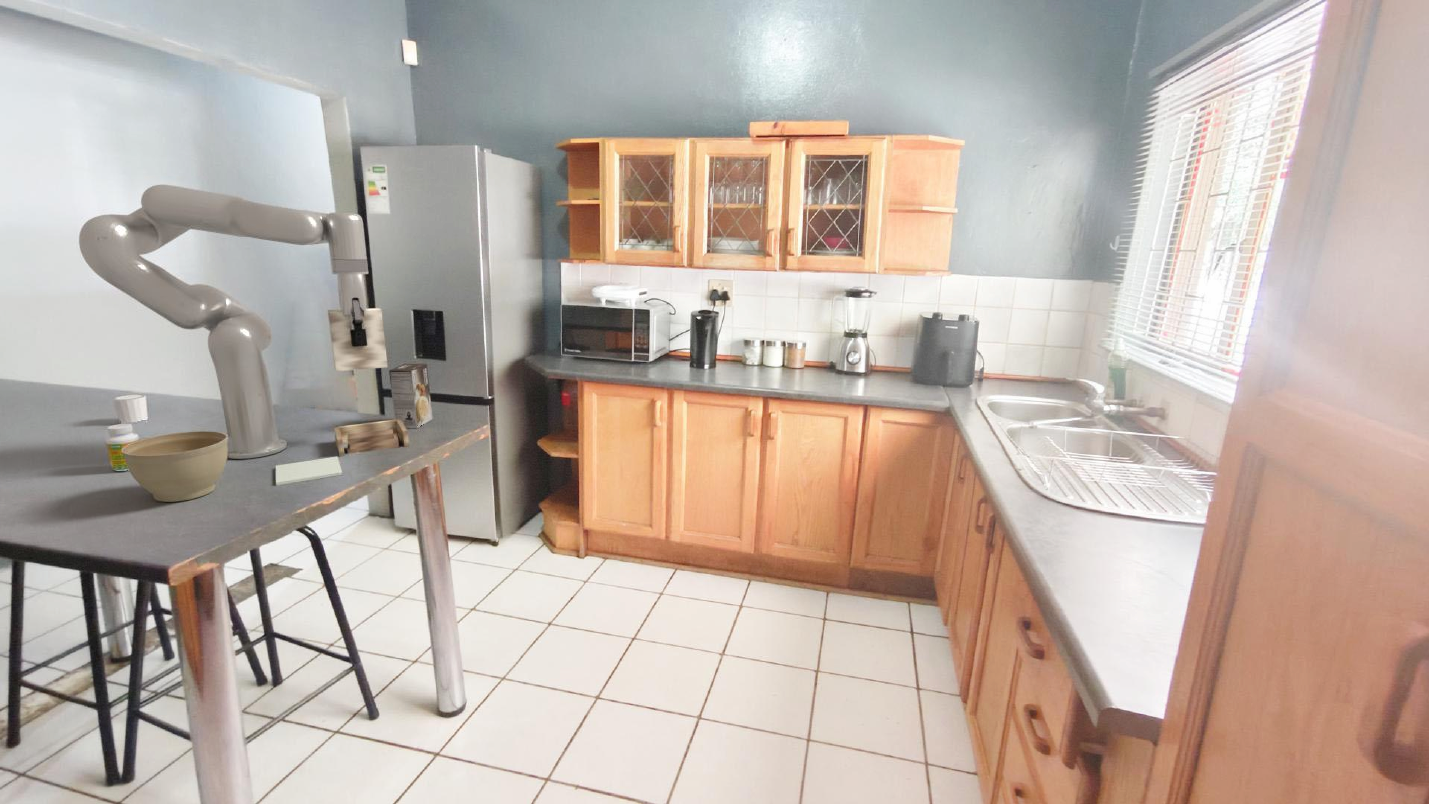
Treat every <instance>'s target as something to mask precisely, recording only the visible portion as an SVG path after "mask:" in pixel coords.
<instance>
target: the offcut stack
mask: <svg viewBox="0 0 1429 804" xmlns="http://www.w3.org/2000/svg"><path fill="white" fill-rule="evenodd" d="M346 445H347V454H348V455H350V454H351V455H352V454H357V453H356V452H359V453H365V452H366V451H367V452H373V451H372V450H375V451H379V450H378V449H383V450H388V449H389V450H390V449H396V448H397V449H398V448H400V443H399V436H398V435H397V433H396V434H393V430H392V429H389V430H381V431H372V432H363V433H355V434H348V442H347V444H346ZM376 449H377V450H376Z"/></svg>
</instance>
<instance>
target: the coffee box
mask: <svg viewBox="0 0 1429 804" xmlns="http://www.w3.org/2000/svg"><path fill="white" fill-rule="evenodd" d="M388 373H389V374H388V375H389V381H390V382H389V383H390V388H391V389H390V392H391V396H392V397H391V398H392V405H393V406H392V408H393V414H394V416H393V417H394V420H396V419H400V420H401V421H402V423H403V424H404V426H405V427H406V429H419V428H421V427H422V426H424V425H425V424H427V423H428V422H430V421H431V420H433V419H434V417H433V409H432V401H431V389H430V382H429V381H430V380H429V370H428V363H403V364H401V365H399V366H396V367H394V368H392V369H389V370H388ZM423 424H424V425H423ZM421 425H422V426H421ZM420 426H421V427H420Z"/></svg>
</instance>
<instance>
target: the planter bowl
mask: <svg viewBox="0 0 1429 804" xmlns="http://www.w3.org/2000/svg"><path fill="white" fill-rule="evenodd" d="M227 442H228V437H227V433H224V432H220V431H214V430H212V431H211V430H196V431H194V430H193V431H182V432H174V433H167V434H166V433H164V434H160V435H155V436H151V437H146V438H143V439H140V440H139V441H136V442H133V443H130V444H128V445H126V446H125V447H123V448H122V450H121V452H122V455H123V457H124V458H125V461H126V464H127V467H128V469H129V471H128V472H129V473H130V474H131V476H132V478H133V479H134V480H135V482H137V483H138V484H139V486H141V487H142V489H144V490H145V491H147V492H148V493H150V494H152V497H153V499H154V500H156V501H157V502H163V503H168V502H169V503H171V502H172V503H173V502H174V503H175V502H183V501H188V500H193V499H196V498H200V497H203V496H205V495H208V494H210V493H211V492H213V491H214V490H215V489H216V482H217V481H218V480H219V479H220V477H221V475H222V473H223V471H224V470H225V467H226V464H227V461H228V458H227V454H228V448H227Z"/></svg>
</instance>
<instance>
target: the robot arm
mask: <svg viewBox="0 0 1429 804" xmlns="http://www.w3.org/2000/svg"><path fill="white" fill-rule="evenodd" d="M140 205H141V207H139V208H137V209H136V210H134V211H133V212H131V213H129V214H103V215H102V214H101V215H97V216H94V217H92V218H90V219H88V220H87V221H85V223H84V224H83V225H82V227H81V228H80V232H79V235H78V244H79V249H80V253H81V255H82V258H83V260H84V261H85V262H86V264H87V265H88V267H89V268H90V269H91V270H92V271H93V272H94V273H95V274H96V275H97V276H98V277H99V278H100V279H103V281H105V282H107V283H109V284H110V285H111V286H113V287H115V288H116V289H117V290H119V291H121V292H122V293H124V294H126V295H128V296H129V297H130V298H132V299H134V300H135V301H137V302H138V303H139V304H140V305H143V306H144V307H146V308H147V309H149V310H151V311H152V312H154V313H155V314H157V315H159V316H160V317H162V318H163V319H165V320H166V321H168V322H170V323H171V324H173V325H174V326H176V327H178V328H181V329H184V330H199V329H201V328H203V329H205V330H208V331H209V333H208V337H207V349H208V351H209V355H210V358H211V361H212V363H213V366H214V370H215V373H216V378H217V379H216V380H217V382H218V389H219V394H220V398H221V404H222V405H221V406H222V409H223V416H224V420H225V427H226V431H227V432H226V435H227V437H228V442H227V448H228V454H227V459H230V460H231V459H232V460H244V459H245V460H247V459H254V458H262V457H266V456H271V455H274V454H278V453H279V452H282V451H284V450H286V448H287V447H288V444H287V441H286V440H284V439H281V438H279V437H278V430H277V424H276V418H275V417H276V416H275V411H274V405H273V398H272V392H271V385H270V380H269V374H268V371H267V370H268V369H267V367H266V363H265V360H264V357H263V353H262V352H263V351H264V350H266V349H267V348H268V347H270V345H271V343H272V341H273V338H274V336H273V335H274V334H273V329H272V326H271V325H270V324H269V323H268V322H267V320H266V319H265V318H263V317H262V316H261V315H259V314H258V313H256V312H255V311H253V310H252V309H250V308H249V307H247V306H246V305H244V304H243V303H241V302H239V301H238V300H236V299H235V298H233V297H231V296H230V295H228V294H227V293H226V292H224V291H222V290H220V289H218V288H216V287H214V286H211V285H208V284H202V283H201V284H200V283H199V284H198V283H197V284H189V283H186V282H185V281H183V280H181V279H179V278H177V277H176V276H175V275H173V274H171V273H170V272H169V271H167V270H166V269H165V268H163V267H161V266H159V265H157V264H155V263H154V262H151V261H150V260H147V259H146V258H144V257H142V256H141V255H146V254H147V255H148V254H150V253H153V252H156V251H157V250H159V249H161V248H162V247H164V246H165V245H167V244H168V243H170V242H172V241H174V240H175V239H178V237H180V236H181V235H182V236H183V235H184V234H185V233H186V232H188V231H190V230H196V231H202V232H203V231H204V232H208V233H209V232H210V233H215V234H220V235H227V236H232V237H233V236H234V237H238V238H243V237H244V238H251V239H259V240H264V241H269V242H270V241H272V242H279V243H283V244H289V245H296V246H297V245H299V246H311V245H312V246H313V245H320V244H328V249H329V250H328V251H329V258H330V268H331V274H333V275H337V277H336V278H337V288H338V289H337V291H338V301H339V310H341V311H342V315H343V316H344V317H347V315H350V323H351V330H350V333H351V341H352V346H353V347H358V346H367V337H366V329H365V326H364V319H363V314H364V316H365V315H366V309H367V297H366V288H365V278H364V275H369V268H368V267H369V266H368V265H369V264H368V257H367V247H366V240H365V239H366V238H365V228H364V222H363V218H362V216H361V215H360V214H358V213H353V212H329V213H325V212H318V211H312V210H307V209H296V208H291V207H290V208H288V207H282V206H278V205H277V206H276V205H270V204H265V203H259V202H254V201H250V200H247V199H244V198H242V197H239V196H236V195H230V194H224V193H217V192H211V191H205V190H202V189H201V190H200V189H193V188H188V187H183V186H176V185H170V184H155V185H152V186H150V187H148V188H146V189H145V191H144V192H143V193H142V195H141V200H140ZM362 310H364V313H363V311H362ZM352 314H354V315H355V316H352ZM353 319H354V320H353ZM353 323H354V324H353Z"/></svg>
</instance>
